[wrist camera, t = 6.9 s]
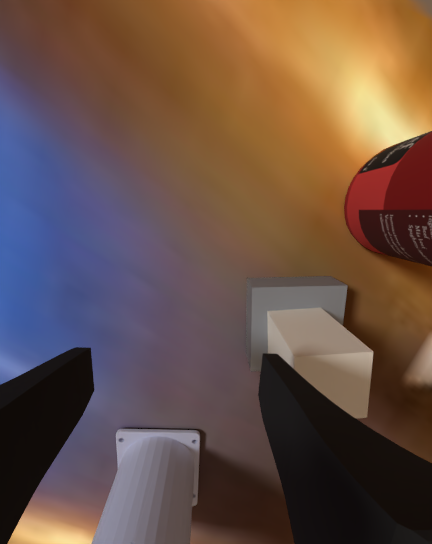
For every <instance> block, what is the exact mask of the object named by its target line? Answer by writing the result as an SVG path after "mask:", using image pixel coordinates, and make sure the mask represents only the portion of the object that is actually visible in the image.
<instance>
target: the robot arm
mask: <svg viewBox="0 0 432 544" xmlns="http://www.w3.org/2000/svg"><path fill="white" fill-rule="evenodd" d="M93 392H94V382H93V370H92V358H91V348H78V347H76V348H73V349H71V350H69V351H66V352H64V353H62V354H60V355H58V356H56V357H55V358H53V359H51V360H49V361H47V362H45V363H43V364H41V365H39V366H37V367H35V368H33V369H31V370H30V371H28V372H26V373H24V374H22V375H20V376H18V377H16V378H14V379H12V380H10V381H8V382H6V383H3V384H1V385H0V544H7V543H8V541H9V539H10V537H11V535H12V533H13V531H14V529H15V528H16V526H17V524H18V522H19V520H20V518H21V516H22V514H23V512H24V511H25V509H26V507H27V505H28V503H29V501H30V499H31V497H32V495H33V494H34V492H35V490H36V488H37V487H38V485H39V483H40V482H41V480H42V478H43V477H44V475H45V474H46V472H47V470H48V469H49V467H50V466H51V464H52V463H53V461H54V459H55V458H56V456H57V455H58V453H59V452H60V450H61V448H62V447H63V445H64V444H65V442H66V441H67V439H68V437H69V436H70V434H71V433H72V431H73V429H74V428H75V426H76V425H77V423H78V421H79V420H80V418H81V416H82V415H83V413H84V411H85V409H86V407H87V405H88V403H89V400H90V398H91V396H92V394H93ZM258 395H259V401H260V407H261V413H262V418H263V422H264V425H265V429H266V432H267V436H268V439H269V443H270V446H271V449H272V453H273V456H274V459H275V463H276V466H277V469H278V473H279V476H280V480H281V483H282V487H283V491H284V495H285V499H286V504H287V509H288V514H289V518H290V523H291V528H292V533H293V538H294V543H295V544H432V463H430V462H428V461H426V460H424V459H422V458H420V457H418V456H417V455H415V454H413V453H411V452H409V451H408V450H406V449H404V448H402V447H400V446H399V445H397V444H395V443H394V442H392V441H390V440H389V439H387V438H385V437H384V436H382V435H380V434H379V433H377V432H375V431H374V430H372V429H371V428H369V427H367V426H366V425H364V424H363V423H361V422H360V421H358V420H357V419H356V418H354V417H353V416H351V415H350V414H348V413H347V412H345V411H344V410H343V409H341V408H340V407H339V406H337V405H336V404H335V403H333V402H332V401H331V400H329V399H328V398H327V397H326V396H324V395H323V394H322V393H321V392H319V391H318V390H317V389H316V388H315V387H313V386H312V385H311V384H310V383H309V382H308V381H307V380H305V379H304V378H303V377H302V376H301V375H300V374H299V373H298V372H297V371H295V370H294V369H293V368H292V367H291V366H290V365H289V364H288V363H287V362H286V361H285V360H284V359H283V358H281V357H280V356H279V355H278V354H271V353H263V356H262V365H261V374H260V384H259V393H258ZM121 438H123V439H121ZM116 446H117V461H118V472H117V474H116V477H115V480H114V483H113V485H112V488H111V491H110V494H109V497H108V499H107V502H106V505H105V508H104V510H103V513H102V516H101V519H100V522H99V524H98V527H97V530H96V533H95V536H94V538H93V541H92V544H190V535H191V519H192V506H195V505H197V501H198V476H199V452H200V432H199V431H197V430H163V429H119V430H118V431H117V433H116Z"/></svg>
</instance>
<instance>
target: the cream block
mask: <svg viewBox="0 0 432 544" xmlns="http://www.w3.org/2000/svg"><path fill="white" fill-rule="evenodd" d="M267 318H268V353H271V354H278V355H279V356H280V357H281V358H283V359H284V360H285V361H286V362H287V363H288V364H289V365H290V366H291V367H292V368H293V369H294V370H295V371H297V372H298V373H299V374H300V375H301V376H302V377H303V378H304V379H305V380H307V381H308V382H309V383H310V384H311V385H312V386H313V387H315V388H316V389H317V390H318V391H319V392H321V393H322V394H323V395H324V396H326V397H327V398H328V399H329V400H331V401H332V402H333V403H335V404H336V405H337V406H339V407H340V408H341V409H343V410H344V411H345V412H347V413H348V414H350V415H351V416H353V417H354V418H367V413H368V403H369V392H370V382H371V372H372V362H373V351H372V350H371V349H370V348H368V347H367V346H366V345H365V344H364V343H362V342H361V341H360V340H359V339H358V338H356V337H355V336H354V335H353V334H352V333H351V332H349V331H348V330H347V329H346V328H345V327H343V326H342V325H341V324H340V323H339V322H337V321H336V320H335V319H334V318H333V317H331V316H330V315H329V314H328V313H327V312H325V311H324V310H323V309H322V308H307V309H292V310H277V311H267Z"/></svg>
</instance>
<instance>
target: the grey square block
mask: <svg viewBox="0 0 432 544" xmlns="http://www.w3.org/2000/svg"><path fill="white" fill-rule="evenodd" d="M347 286H348V285H346V284H344V283H342V282H340V281H338V280H337V279H335V278H333V277H331V276H316V277H272V278H247V310H246V355H247V359H248V363H249V367H250V371H261V365H262V356H263V353H268V318H267V311H277V310H292V309H307V308H322V309H323V310H324V311H325V312H327V313H328V314H329V315H330V316H331V317H333V318H334V319H335V320H336V321H337V322H339V323H340V324H341V325H342V326H343V320H344V311H345V303H346V295H347Z"/></svg>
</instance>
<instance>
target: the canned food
mask: <svg viewBox="0 0 432 544" xmlns="http://www.w3.org/2000/svg"><path fill="white" fill-rule="evenodd" d="M344 211H345V220H346V224H347V226H348V229H349V231H350V233H351V234H352V235H353V237H354V238H355V239H356V240H357V241H358V242H359V243H360V244H362V245H363V246H364V247H366V248H367V249H369V250H371V251H374V252H377V253H381V254H385V255H389V256H393V257H397V258H401V259H405V260H409V261H413V262H417V263H421V264H425V265H429V266H432V131H431V132H428V133H425V134H422V135H420V136H417V137H414V138H412V139H409V140H406V141H404V142H401V143H398V144H396V145H393V146H391V147H389V148H386V149H384V150H382V151H381V152H379V153H378V154H376V155H375V156H373V157H372V158H371V159H370V160H369V161H368V162H367V163H366V164H365V165H364V166H363V167H362V168H361V169H360V170H359V171H358V173H357V174H356V175H355V177H354V178H353V180H352V182H351V184H350V186H349V188H348V192H347V195H346V199H345V206H344Z"/></svg>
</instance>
